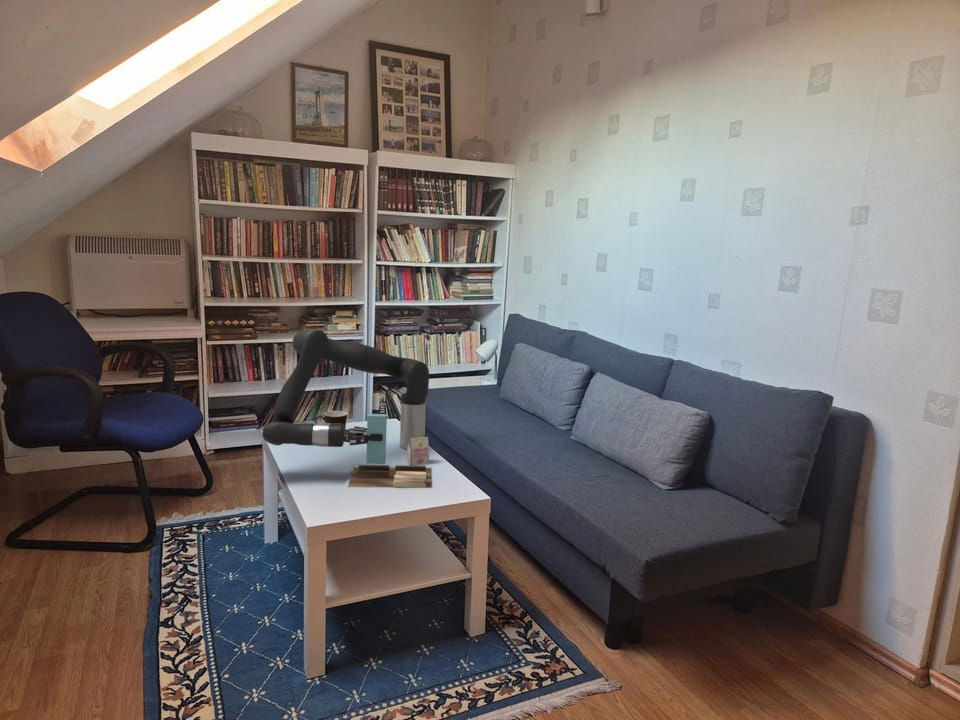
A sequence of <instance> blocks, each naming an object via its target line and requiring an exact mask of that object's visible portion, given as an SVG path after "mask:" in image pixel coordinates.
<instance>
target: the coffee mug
mask: <svg viewBox="0 0 960 720" xmlns="http://www.w3.org/2000/svg"><path fill="white" fill-rule="evenodd" d="M319 418H320V419H323V421H324V423H339V424H344V429H346V425H347V419H348V412H347V411H342V410H332V411H331V410H329V411H326V412H324V415H323V416H322V415H319V416H318V415H317V416H316V417H315V419H314V424H318V422H317V419H319Z"/></svg>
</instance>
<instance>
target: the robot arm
mask: <svg viewBox="0 0 960 720" xmlns="http://www.w3.org/2000/svg"><path fill="white" fill-rule="evenodd" d="M292 346H293V349H294V350H295V352H296V353H298V354H299V355H300V356H299V359H298V362H297V364H296V366H295V367H294V369H293V371H292V373H291V374H290V376H289V377H288V378H287V380H286V381H285V383H284V384H283V386H282V388H281V390H280V392H279V395H278V397H277V399H276V402H275V405H274V408H273V411H274V414H273V418H272V420H271V422H269V423H267V424H266V425H264V427H263V429H262V432H261V433H262V438H263V440H264V441H265V442H267V443H268V444H270V445H273V446H282V445H290V444H291V445H299V446H314V447H315V446H316V447H322V448H323V447H324V448H342V447H344V445H345V444H344V443H348V444H349V446H358V445H367V443H368V442H370V441H382V440H383V435H382V434H369V433H367V427H363V426H357V425H356V426H354V427H350V428H345V429H344V424H339V423H325V422H320V423H318V422H317V424H316V423H294V421H295V417H296V414H297V412H298V409H299V406H300V405H301V402H302V399H303V396H304V394H305V391H306V389H307V387H308V386H309V383H310V381H311V379H312V377H313V375H314V373H315V371H316V369H317V367H318V365H319V364H320V362H321V361H322V360H326V361H330V362H333V363H336V364H339V365H341V366H345V367H347V368H350V369H354V370H357V371H360V372H364V373H369V374H380V375H381V374H382V375H386V376H390V377H393V378H395V379H397V380H400V381H402V382H403V383H406V391H405V392H403V393H402V394H401V396H400V423H399V424H400V427H399V428H400V429H399V431H400V432H399V433H400V435H399V447H400V448H401V449H404V450H407V447H408V443H409V438H420V437H426V434H425V433H426V400H427V397H428V395H429V394H428V393H429V383H430V369H429V367H428V365H427V364H426V363H425V362H423V361H420V360H417V359H413V358H407V357H400V356H397V355H396V356H395V355H391V354H388V353H387V352H385V351H382V350H381V349H378V348H377V347H373V346H370V345H367V344H362V343H359V342H352V341H345V340H339V339H338V340H336V339H333V338H330V337H328V335H327V333H326V332H325V331H324V330H321V329H317V328H306V329H302V330H300V331H298V332H297V333H295V335H293V338H292Z"/></svg>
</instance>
